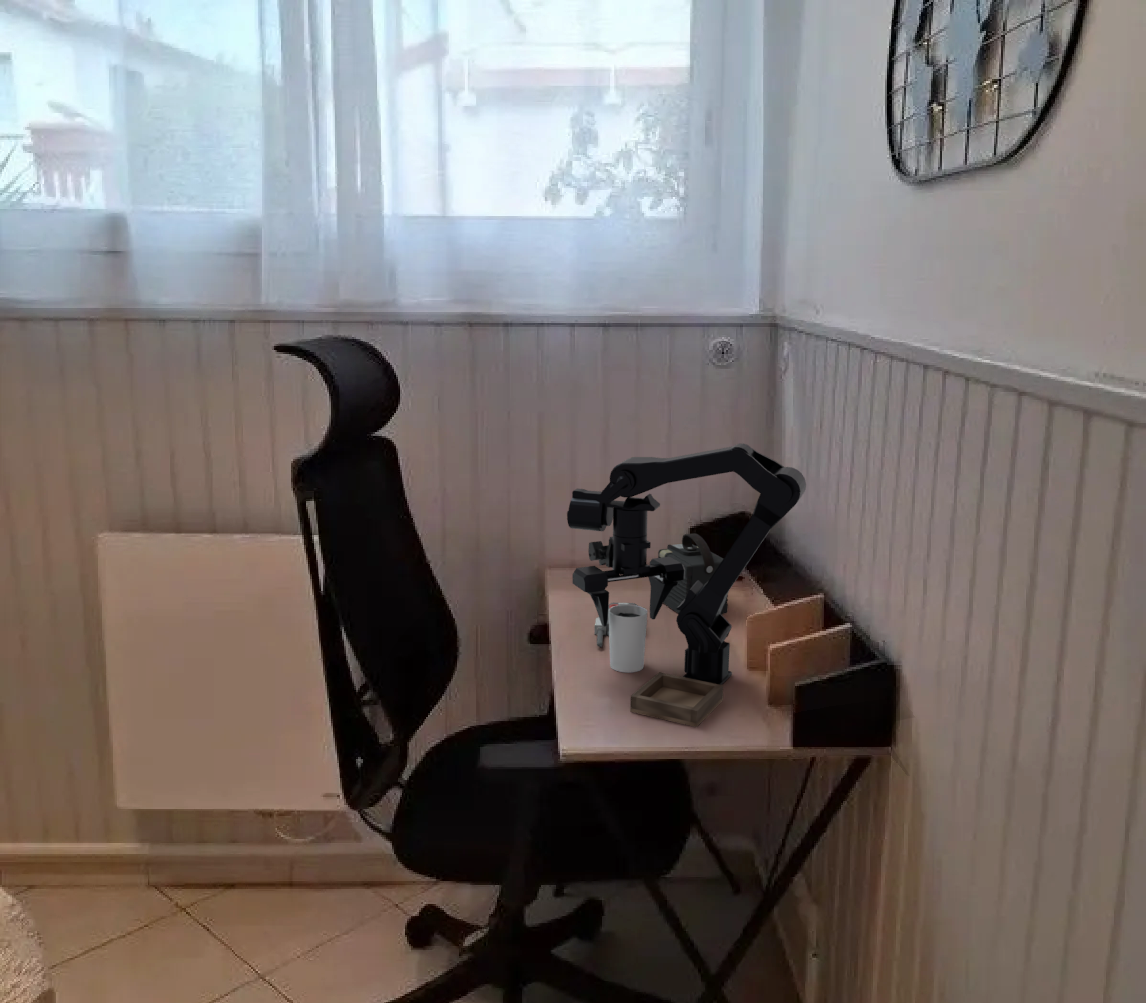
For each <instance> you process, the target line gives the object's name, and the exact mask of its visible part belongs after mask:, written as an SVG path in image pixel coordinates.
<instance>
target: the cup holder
mask: <svg viewBox="0 0 1146 1003" xmlns="http://www.w3.org/2000/svg"><path fill="white" fill-rule="evenodd" d="M723 697H724V685H723V684H722V685H719V684H714V683H709V682H705V681H700V680H695V679H690V678H686V677H683V676H681V675H676V674H671V673H665V672H662V671H660V672H658V673H657V674H655V675H654V676H653V677H652V678H651V679H650V680H648V681H647V682H646V683H645V684H643V685H642V686H641V687H640V688H638V689H637V690H636V691H635V692H634V693H632V694H631V695H630V699H629V700H630V703H629V704H630V706H629V708H630V709H629V710H630V713H635V714H639V715H644V716H646V717H650V718H651V717H652V718H655V719H660V720H665V721H668V722H669V721H670V722H673V723H678V724H680V725H685V724H686V725H685V726H691V727H694V728H698V726H699V725H700V724H701V723H702V722H703V721H704V720H705V719H706V718H707V717H708V716H709V715H710V714H711V713H712V712H713V711H714V710H716V708H717V707H718V706H719V705H720V704H721V703H723V701H724V700H723Z"/></svg>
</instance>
